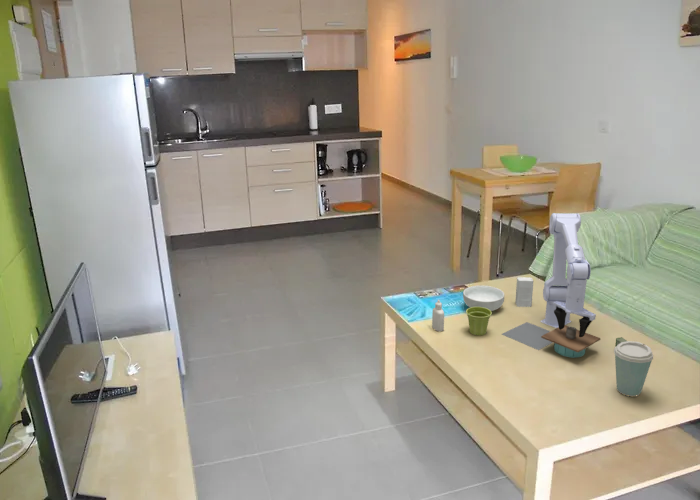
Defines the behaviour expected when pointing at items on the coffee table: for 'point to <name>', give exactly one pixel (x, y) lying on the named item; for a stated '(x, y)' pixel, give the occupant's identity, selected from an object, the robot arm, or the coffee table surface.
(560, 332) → the walnut lid
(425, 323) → the coffee table surface
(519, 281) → the skincare box
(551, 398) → the coffee table surface
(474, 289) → the cereal bowl
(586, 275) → the robot arm
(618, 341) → the medication box
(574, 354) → the teal bowl
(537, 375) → the coffee table surface
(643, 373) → the disposable coffee cup
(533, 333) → the rubber mat
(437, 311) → the eye dropper bottle
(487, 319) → the plant pot
